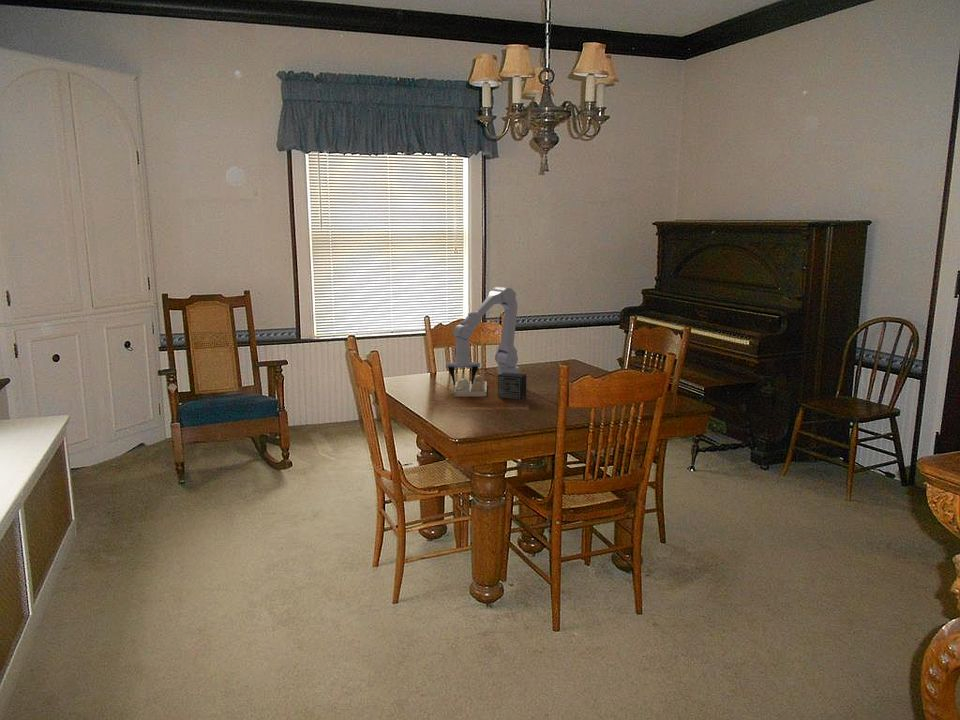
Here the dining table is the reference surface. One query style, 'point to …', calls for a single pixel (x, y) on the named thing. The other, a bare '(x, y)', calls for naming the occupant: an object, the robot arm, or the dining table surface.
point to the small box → (512, 385)
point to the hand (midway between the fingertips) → (463, 384)
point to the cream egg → (463, 383)
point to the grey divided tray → (469, 390)
